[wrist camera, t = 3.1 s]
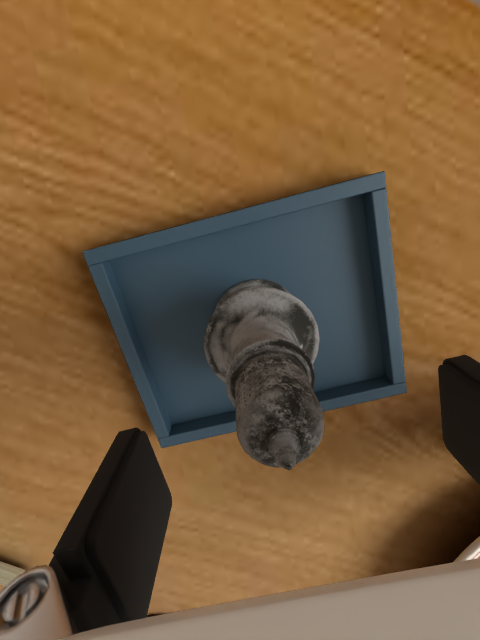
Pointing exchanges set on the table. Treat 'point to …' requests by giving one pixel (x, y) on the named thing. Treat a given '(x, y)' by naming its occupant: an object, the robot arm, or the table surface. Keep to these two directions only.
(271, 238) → the blue tray
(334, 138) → the table surface
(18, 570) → the ice cream bar
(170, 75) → the table surface
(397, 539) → the table surface
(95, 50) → the table surface
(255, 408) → the stone chess piece
